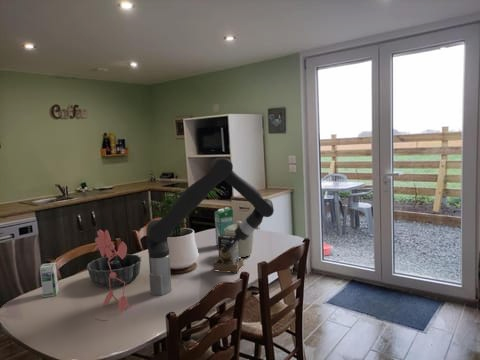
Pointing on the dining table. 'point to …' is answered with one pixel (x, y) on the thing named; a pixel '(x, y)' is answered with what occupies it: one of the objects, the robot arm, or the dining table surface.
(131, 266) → the bundt pan
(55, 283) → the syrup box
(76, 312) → the dining table surface
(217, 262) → the walnut crate
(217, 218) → the milk carton
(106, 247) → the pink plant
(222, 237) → the coffee box
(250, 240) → the canister
